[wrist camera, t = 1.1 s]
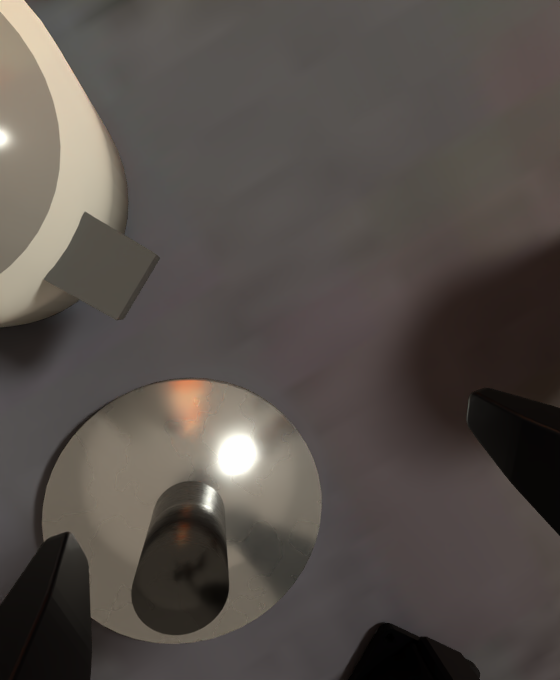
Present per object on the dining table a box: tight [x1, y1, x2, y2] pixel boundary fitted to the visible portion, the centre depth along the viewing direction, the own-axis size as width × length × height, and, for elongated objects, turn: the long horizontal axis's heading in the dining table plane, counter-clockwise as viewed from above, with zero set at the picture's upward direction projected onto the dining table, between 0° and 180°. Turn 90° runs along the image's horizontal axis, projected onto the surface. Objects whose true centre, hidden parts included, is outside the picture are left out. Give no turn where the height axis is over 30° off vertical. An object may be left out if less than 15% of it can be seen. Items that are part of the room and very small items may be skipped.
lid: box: [42, 378, 322, 644], centre depth 17 cm, size 12×12×6 cm
